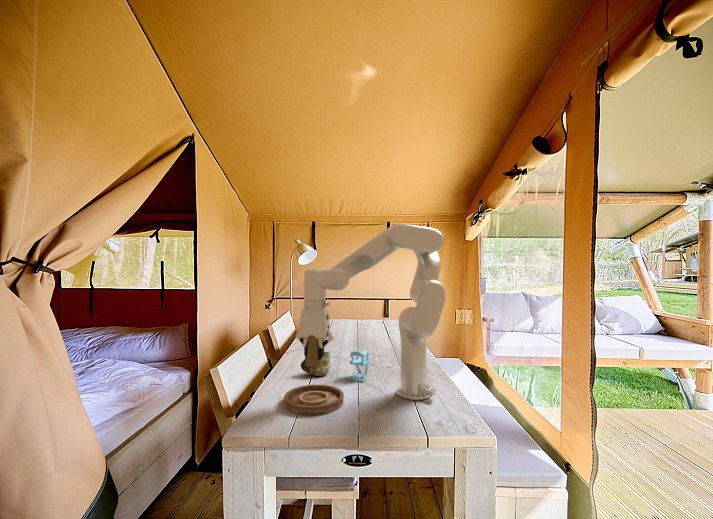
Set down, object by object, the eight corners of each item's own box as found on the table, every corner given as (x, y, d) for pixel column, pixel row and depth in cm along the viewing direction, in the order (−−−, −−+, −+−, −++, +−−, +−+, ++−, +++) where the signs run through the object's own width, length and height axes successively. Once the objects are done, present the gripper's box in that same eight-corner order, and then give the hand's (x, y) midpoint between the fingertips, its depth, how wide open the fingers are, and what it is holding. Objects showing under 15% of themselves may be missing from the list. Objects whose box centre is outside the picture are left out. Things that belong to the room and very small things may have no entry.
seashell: (314, 369, 151) (314, 347, 151) (335, 373, 145) (335, 350, 145) (299, 375, 142) (299, 352, 142) (320, 380, 136) (320, 355, 136)
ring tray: (355, 402, 113) (355, 395, 113) (307, 421, 99) (307, 413, 99) (319, 387, 128) (319, 380, 128) (272, 402, 114) (273, 394, 114)
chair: (372, 376, 141) (372, 348, 141) (363, 382, 133) (363, 352, 134) (356, 374, 144) (356, 346, 145) (346, 379, 137) (347, 350, 137)
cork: (314, 361, 118) (314, 330, 118) (326, 364, 114) (326, 332, 115) (301, 364, 113) (301, 332, 114) (313, 368, 110) (313, 334, 110)
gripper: (341, 304, 116) (340, 357, 115) (297, 303, 120) (296, 353, 120) (333, 307, 108) (333, 363, 108) (287, 305, 113) (286, 359, 113)
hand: (314, 357), depth 114 cm, fingers closed on cork, 4 cm apart
